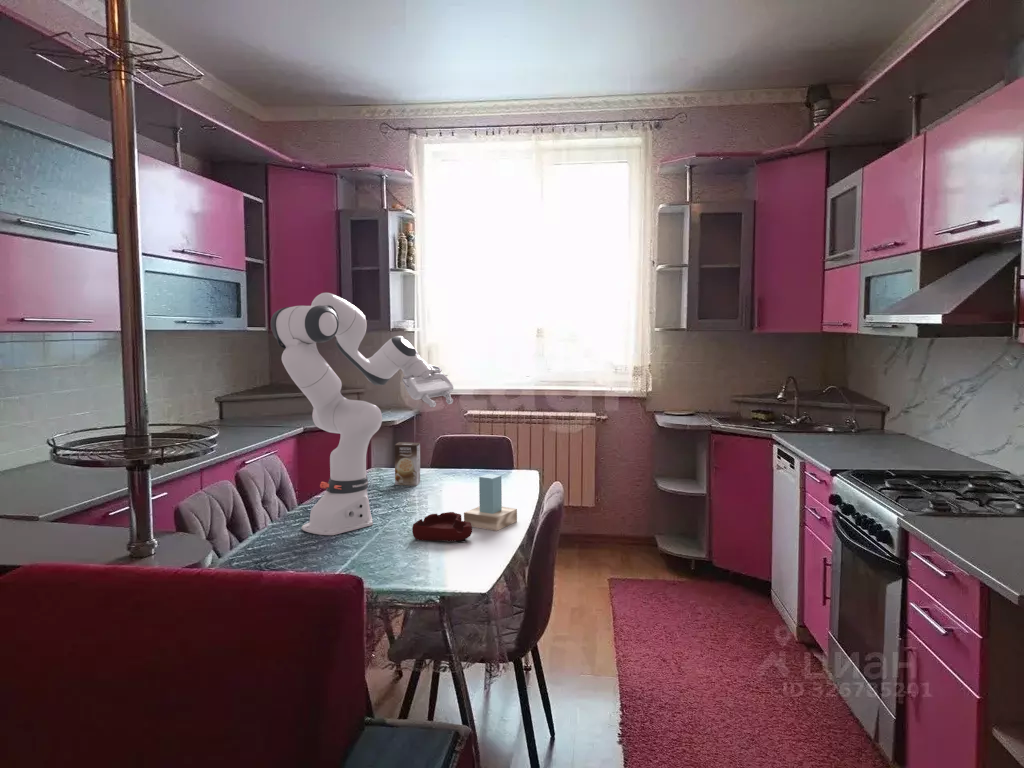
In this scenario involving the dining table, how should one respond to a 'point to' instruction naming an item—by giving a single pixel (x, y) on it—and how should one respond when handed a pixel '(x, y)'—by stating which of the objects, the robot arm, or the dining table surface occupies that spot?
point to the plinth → (491, 518)
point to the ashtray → (442, 528)
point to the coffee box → (407, 463)
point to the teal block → (490, 493)
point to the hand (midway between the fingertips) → (442, 404)
